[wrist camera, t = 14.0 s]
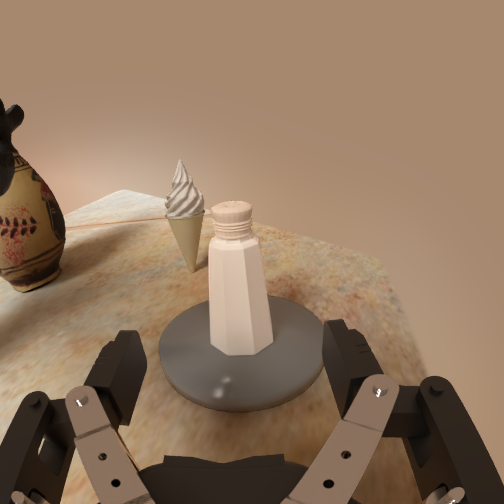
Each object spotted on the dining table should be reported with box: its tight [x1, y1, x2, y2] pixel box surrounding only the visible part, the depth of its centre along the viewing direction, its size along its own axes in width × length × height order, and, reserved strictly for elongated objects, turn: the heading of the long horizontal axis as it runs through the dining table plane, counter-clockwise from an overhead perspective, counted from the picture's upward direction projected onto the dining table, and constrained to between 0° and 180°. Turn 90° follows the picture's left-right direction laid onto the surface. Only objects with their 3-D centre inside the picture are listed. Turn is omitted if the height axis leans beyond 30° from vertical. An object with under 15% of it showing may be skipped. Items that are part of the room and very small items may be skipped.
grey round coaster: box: [159, 295, 324, 412], centre depth 25 cm, size 14×14×2 cm
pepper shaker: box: [208, 201, 273, 356], centre depth 23 cm, size 5×5×11 cm
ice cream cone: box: [165, 159, 205, 273], centre depth 38 cm, size 5×5×15 cm
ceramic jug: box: [0, 99, 66, 292], centre depth 34 cm, size 17×15×30 cm
